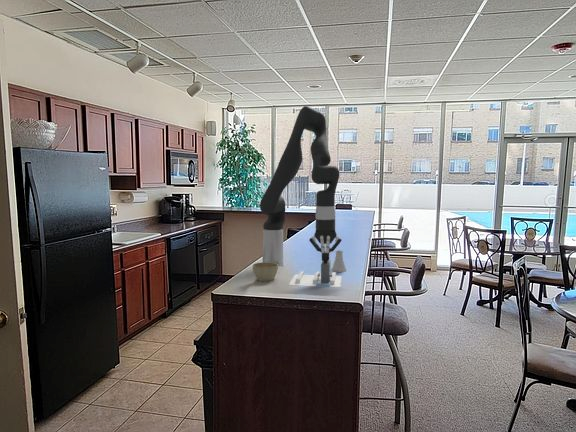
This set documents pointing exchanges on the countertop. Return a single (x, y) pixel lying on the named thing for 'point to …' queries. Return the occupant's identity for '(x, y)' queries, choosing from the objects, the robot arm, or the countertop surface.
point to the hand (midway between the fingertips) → (325, 262)
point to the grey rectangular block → (325, 271)
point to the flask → (339, 262)
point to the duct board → (315, 280)
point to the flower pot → (265, 271)
